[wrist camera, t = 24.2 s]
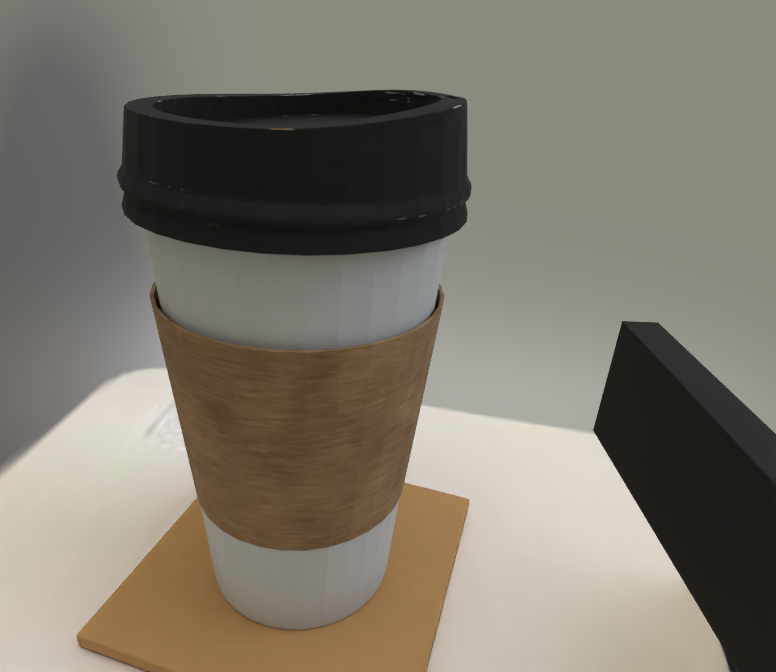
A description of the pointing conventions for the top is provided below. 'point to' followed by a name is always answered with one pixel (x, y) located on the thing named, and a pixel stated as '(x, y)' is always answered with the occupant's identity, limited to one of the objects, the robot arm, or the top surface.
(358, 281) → the coffee cup
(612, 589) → the top surface
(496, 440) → the top surface
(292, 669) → the coaster
